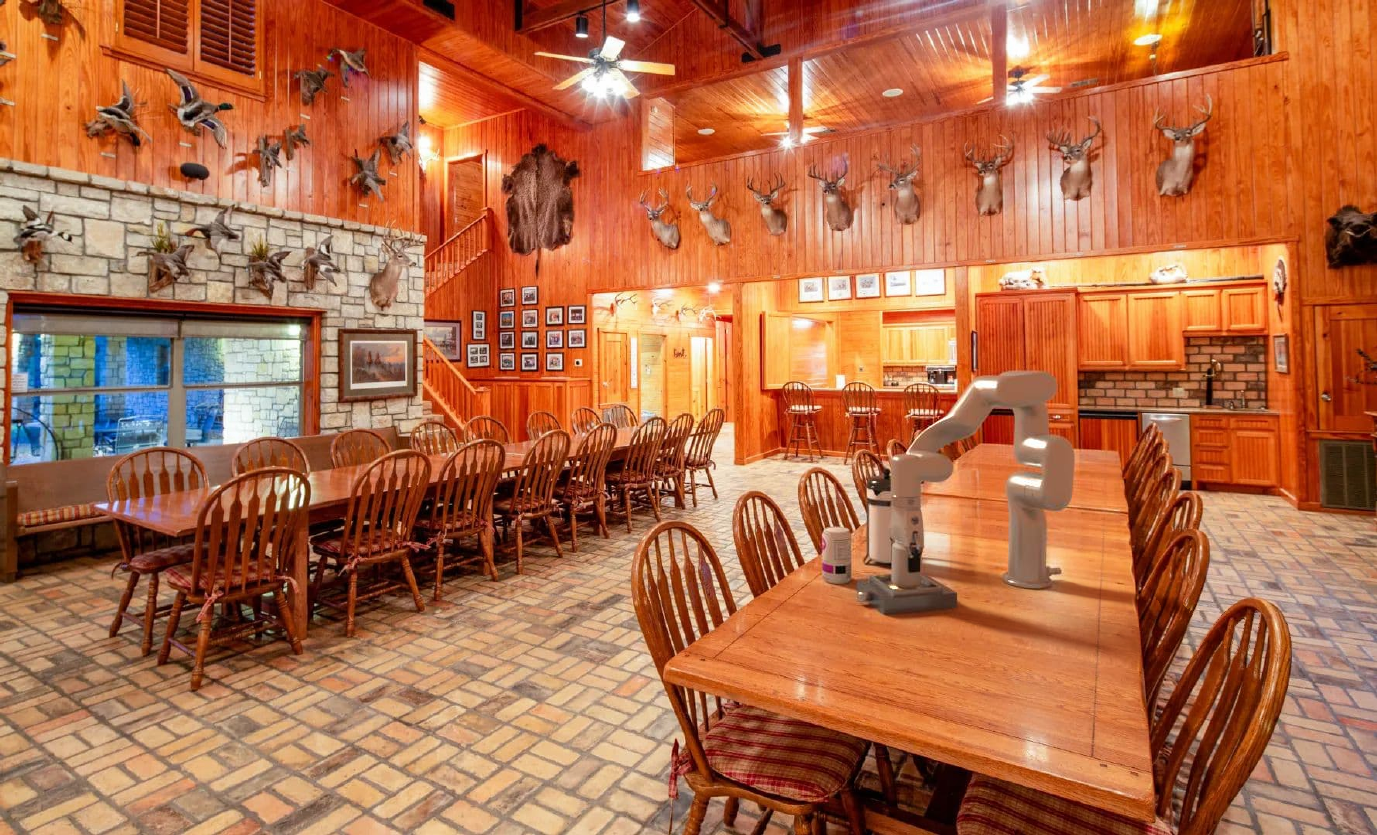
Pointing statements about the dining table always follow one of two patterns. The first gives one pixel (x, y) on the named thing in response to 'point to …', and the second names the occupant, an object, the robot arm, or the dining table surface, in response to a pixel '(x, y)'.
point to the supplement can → (836, 555)
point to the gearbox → (905, 595)
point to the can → (903, 567)
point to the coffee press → (879, 518)
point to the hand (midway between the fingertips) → (905, 566)
